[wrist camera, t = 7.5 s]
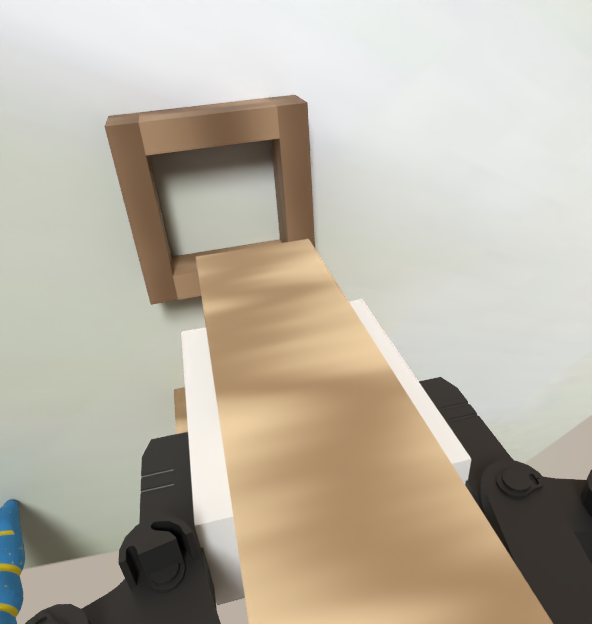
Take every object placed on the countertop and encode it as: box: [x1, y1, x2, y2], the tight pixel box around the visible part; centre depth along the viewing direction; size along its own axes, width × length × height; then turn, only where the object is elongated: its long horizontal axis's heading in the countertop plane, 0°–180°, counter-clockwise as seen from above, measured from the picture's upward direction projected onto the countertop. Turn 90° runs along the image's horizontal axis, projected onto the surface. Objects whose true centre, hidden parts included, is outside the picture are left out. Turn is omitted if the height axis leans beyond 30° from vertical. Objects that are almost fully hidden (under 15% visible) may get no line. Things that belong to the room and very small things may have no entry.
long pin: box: [196, 239, 553, 624], centre depth 12 cm, size 4×4×16 cm
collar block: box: [105, 95, 315, 305], centre depth 27 cm, size 10×10×2 cm
